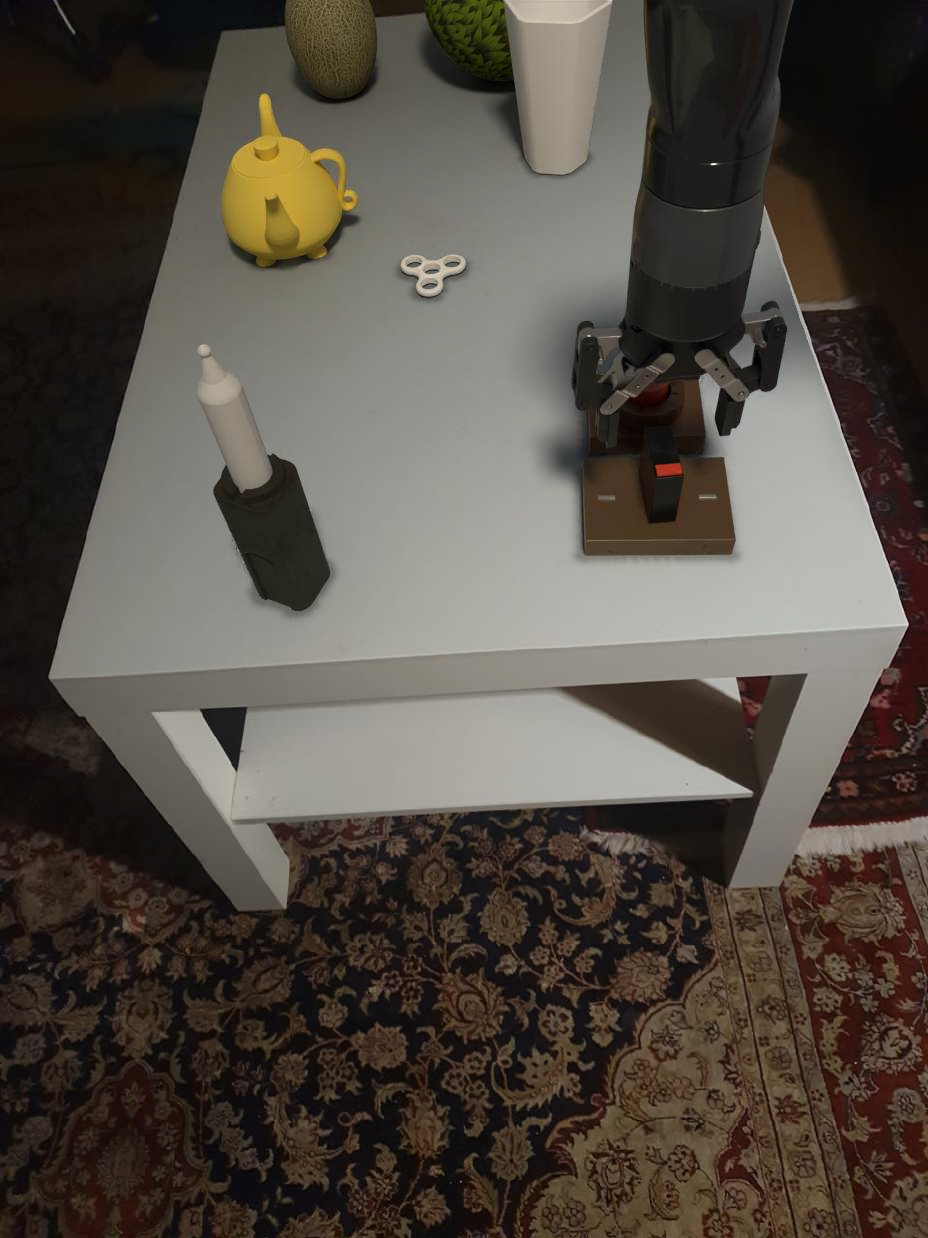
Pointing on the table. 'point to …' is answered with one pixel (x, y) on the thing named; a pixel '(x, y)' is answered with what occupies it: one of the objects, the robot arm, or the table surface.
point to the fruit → (332, 43)
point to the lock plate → (623, 517)
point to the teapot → (282, 195)
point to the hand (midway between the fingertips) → (665, 434)
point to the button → (651, 394)
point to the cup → (557, 76)
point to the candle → (261, 496)
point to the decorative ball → (473, 35)
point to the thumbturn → (660, 474)
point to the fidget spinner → (432, 278)
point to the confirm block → (656, 421)
